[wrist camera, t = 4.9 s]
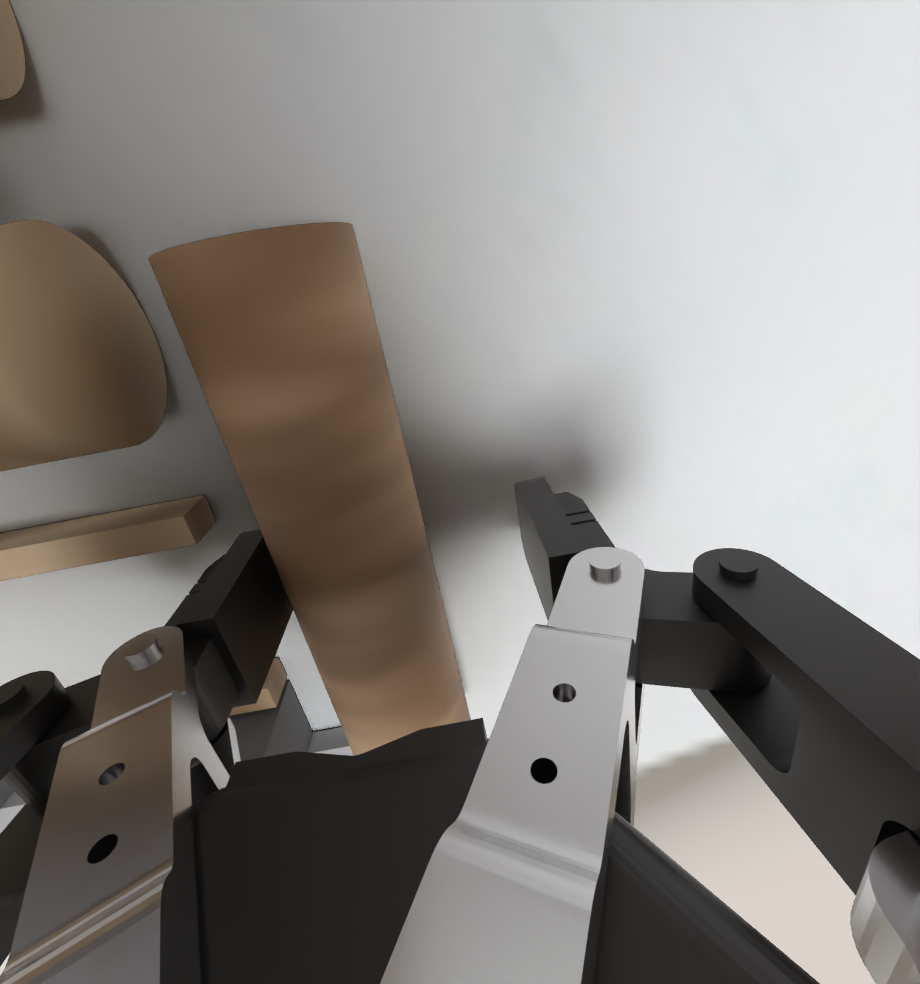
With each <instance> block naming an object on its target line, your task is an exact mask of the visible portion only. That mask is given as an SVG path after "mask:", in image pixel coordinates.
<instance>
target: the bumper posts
mask: <svg viewBox="0 0 920 984" xmlns="http://www.w3.org/2000/svg"><path fill="white" fill-rule="evenodd" d="M229 717H230V719H231V721H232V723H233V725H234V727H235V731H236V736H237V742H238V748H239V754H240V760H241V761H245V760H250V759H256V758H261V757H267V756H273V755H278V754H284V753H289V752H295V751H298V752H311V753H324V754H336V755H349V756H354V755H353V752H352V750H351V748H350V745H349V743H348V740H347V738H346V736H345V733H344V731H343V728H342V727H339V728H334V729H328V730H323V731H317V732H312V730H311V727H310V725H309V723H308V721H307V719H306V716H305V714H304V712H303V710H302V708H301V705H300V703H299V701H298V699H297V697H296V694H295V692H294V690H293V688H292V686H291V683H290V681H285V684H284V687H283V690H282V693H281V696H280V698H279V701H278V704H277V707H275V708H270V709H264V710H259V711H253V712H248V713H242V714H237V715H231V716H229ZM25 804H26V803H25V802H24V801H23V800H22V799H21V797H20V796H19V795H18V794H17V793H16V792H15V791H14V790H13V789H12V788H11V787H10V786H9V785H8V783H7V782H6V781H5V780H4V779H2V780H1V781H0V834H1V832H2V831H3V830H4V829H5V828H6V826H7V825H8V824H9V823H10V822H11V821H12V819H13V818H14V817H15V816H16V815H17V813H18V812H19V811H20V810H21V809H22V808H23V806H24V805H25Z"/></svg>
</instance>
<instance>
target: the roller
mask: <svg viewBox="0 0 920 984" xmlns="http://www.w3.org/2000/svg"><path fill="white" fill-rule="evenodd" d="M148 259H149V262H150V264H151V266H152V269H153V271H154V274H155V276H156V279H157V281H158V283H159V286H160V288H161V291H162V293H163V295H164V298H165V300H166V303H167V305H168V308H169V310H170V312H171V315H172V317H173V320H174V322H175V324H176V327H177V329H178V332H179V334H180V337H181V339H182V341H183V344H184V346H185V349H186V351H187V354H188V356H189V358H190V361H191V363H192V366H193V368H194V370H195V373H196V375H197V378H198V380H199V383H200V385H201V387H202V390H203V392H204V395H205V397H206V399H207V402H208V404H209V407H210V409H211V412H212V414H213V416H214V419H215V421H216V424H217V426H218V428H219V431H220V433H221V436H222V438H223V441H224V443H225V445H226V448H227V450H228V453H229V455H230V457H231V460H232V462H233V465H234V467H235V470H236V472H237V474H238V477H239V479H240V482H241V484H242V486H243V489H244V491H245V494H246V496H247V499H248V501H249V503H250V506H251V508H252V511H253V513H254V516H255V518H256V520H257V523H258V525H259V528H260V530H261V532H262V535H263V537H264V540H265V542H266V545H267V547H268V549H269V552H270V554H271V557H272V559H273V561H274V564H275V566H276V569H277V571H278V574H279V576H280V578H281V581H282V583H283V586H284V588H285V590H286V593H287V595H288V598H289V600H290V603H291V605H292V607H293V610H294V612H295V615H296V617H297V619H298V622H299V624H300V627H301V629H302V632H303V634H304V636H305V639H306V641H307V644H308V646H309V648H310V651H311V653H312V656H313V658H314V661H315V663H316V665H317V668H318V670H319V673H320V675H321V678H322V680H323V682H324V685H325V687H326V690H327V692H328V694H329V697H330V699H331V702H332V704H333V707H334V709H335V711H336V714H337V716H338V719H339V721H340V723H341V726H342V728H343V731H344V733H345V736H346V738H347V740H348V743H349V745H350V748H351V750H352V752H353V755H359V754H362V753H365V752H367V751H370V750H372V749H375V748H377V747H379V746H382V745H384V744H387V743H389V742H391V741H394V740H396V739H399V738H401V737H403V736H406V735H408V734H411V733H413V732H415V731H418V730H420V729H424V728H429V727H435V726H441V725H446V724H452V723H457V722H463V721H469V720H471V719H470V715H469V711H468V706H467V702H466V698H465V694H464V690H463V685H462V681H461V677H460V673H459V669H458V664H457V660H456V656H455V652H454V648H453V643H452V639H451V635H450V631H449V627H448V623H447V618H446V614H445V610H444V606H443V602H442V597H441V593H440V589H439V585H438V581H437V576H436V572H435V568H434V564H433V560H432V555H431V551H430V547H429V543H428V539H427V535H426V530H425V526H424V522H423V518H422V514H421V509H420V505H419V501H418V497H417V493H416V488H415V484H414V480H413V476H412V472H411V467H410V463H409V459H408V455H407V451H406V447H405V442H404V438H403V434H402V430H401V426H400V421H399V417H398V413H397V409H396V405H395V400H394V396H393V392H392V388H391V384H390V380H389V375H388V371H387V367H386V363H385V359H384V354H383V350H382V346H381V342H380V338H379V333H378V329H377V325H376V321H375V317H374V312H373V308H372V304H371V300H370V296H369V292H368V287H367V283H366V279H365V275H364V271H363V266H362V262H361V258H360V254H359V250H358V245H357V241H356V237H355V233H354V229H353V225H352V224H349V223H341V222H327V223H311V224H299V225H290V226H282V227H274V228H267V229H260V230H253V231H247V232H241V233H235V234H229V235H224V236H219V237H214V238H209V239H204V240H200V241H195V242H191V243H187V244H183V245H179V246H175V247H172V248H169V249H165V250H162V251H160V252H157V253H155V254H153V255H151V256H150V257H149V258H148Z"/></svg>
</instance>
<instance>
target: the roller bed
mask: <svg viewBox="0 0 920 984" xmlns="http://www.w3.org/2000/svg"><path fill="white" fill-rule="evenodd" d="M25 70H26V68H25V54H24V49H23V43H22V39H21V35H20V32H19V28H18V25H17V22H16V19H15V16H14V13H13V10H12V7H11V5H10V2H9V0H0V100H3V99H8V98H11V97H12V96H14V95H16V94H17V93H18V92H19V90H20V89H21V88H22V85H23V82H24V79H25ZM166 402H167V381H166V373H165V368H164V363H163V359H162V355H161V351H160V348H159V345H158V342H157V340H156V337H155V335H154V332H153V330H152V328H151V325H150V323H149V321H148V319H147V317H146V315H145V313H144V312H143V310H142V308H141V306H140V304H139V303H138V301H137V300H136V298H135V296H134V295H133V293H132V292H131V290H130V289H129V288H128V286H127V285H126V283H125V282H124V281H123V279H122V278H121V277H120V276H119V275H118V273H117V272H116V271H115V270H114V269H113V268H112V266H111V265H110V264H109V263H108V262H107V261H106V260H105V259H104V258H103V257H102V256H101V255H100V254H99V253H98V252H97V251H95V250H94V249H93V248H92V247H91V246H89V245H88V244H87V243H86V242H84V241H83V240H81V239H80V238H78V237H77V236H75V235H74V234H73V233H71V232H69V231H67V230H65V229H63V228H61V227H59V226H56V225H54V224H51V223H48V222H44V221H39V220H21V221H16V222H11V223H6V224H0V471H5V470H10V469H16V468H21V467H26V466H31V465H37V464H42V463H47V462H52V461H58V460H63V459H68V458H73V457H79V456H84V455H89V454H94V453H100V452H105V451H110V450H115V449H121V448H126V447H131V446H135V445H139V444H141V443H143V442H145V441H147V440H148V439H149V438H150V437H152V436H153V434H154V433H155V432H156V431H157V430H158V428H159V426H160V424H161V422H162V420H163V417H164V413H165V409H166ZM215 522H216V519H215V517H214V515H213V513H212V510H211V508H210V506H209V504H208V502H207V499H206V497H205V495H201V496H195V497H190V498H185V499H179V500H174V501H169V502H164V503H158V504H153V505H148V506H142V507H137V508H132V509H126V510H121V511H116V512H110V513H105V514H100V515H95V516H89V517H84V518H79V519H73V520H68V521H63V522H57V523H52V524H47V525H41V526H36V527H31V528H26V529H20V530H15V531H10V532H4V533H0V581H4V580H9V579H14V578H20V577H25V576H30V575H36V574H41V573H46V572H52V571H57V570H62V569H68V568H73V567H78V566H84V565H89V564H94V563H100V562H105V561H111V560H116V559H121V558H127V557H132V556H137V555H143V554H148V553H153V552H159V551H164V550H169V549H175V548H180V547H185V546H191V545H196V544H198V542H199V541H200V540H201V539H202V538H203V536H204V535H205V534H206V533H207V532H208V530H209V529H210V528H211V527H212V526H213V524H214V523H215ZM286 678H287V675H286V673H285V670H284V668H283V666H282V664H281V662H280V659H279V658H275V659H274V660H273V662H272V665H271V667H270V670H269V672H268V675H267V677H266V680H265V683H264V685H263V688H262V690H261V693H260V695H259V698H258V700H257V703H256V704H250V705H245V706H239V707H233V708H232V710H231V713H230V715H229V716H231V715H237V714H242V713H248V712H253V711H259V710H264V709H270V708H275V707H277V704H278V701H279V698H280V696H281V693H282V690H283V687H284V684H285V681H286Z"/></svg>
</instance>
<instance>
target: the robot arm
mask: <svg viewBox="0 0 920 984" xmlns="http://www.w3.org/2000/svg"><path fill="white" fill-rule="evenodd" d="M515 493H516V501H517V508H518V516H519V523H520V530H521V538H522V543H523V548H524V552H525V556H526V560H527V563H528V565H529V568H530V571H531V574H532V577H533V580H534V582H535V585H536V588H537V591H538V594H539V597H540V599H541V602H542V605H543V608H544V611H545V614H546V616H547V619H548V623H547V626H546V625H540V624H536V625H534V627H533V628H532V630H531V632H530V634H529V637H528V639H527V642H526V644H525V647H524V650H523V652H522V655H521V657H520V660H519V663H518V665H517V668H516V671H515V673H514V676H513V678H512V681H511V684H510V686H509V689H508V691H507V694H506V697H505V699H504V702H503V704H502V707H501V710H500V712H499V715H498V717H497V720H496V723H495V725H494V728H493V730H492V733H491V736H490V738H487V736H486V731H485V726H484V722H483V718H480V719H474V720H469V721H463V722H457V723H452V724H446V725H441V726H435V727H429V728H424V729H420V730H418V731H415V732H413V733H411V734H408V735H406V736H403V737H401V738H399V739H396V740H394V741H391V742H389V743H387V744H384V745H382V746H379V747H377V748H375V749H372V750H370V751H367V752H365V753H362V754H359V755H354V756H349V755H336V754H324V753H311V752H298V751H295V752H289V753H284V754H278V755H273V756H267V757H261V758H256V759H250V760H245V761H241V760H240V754H239V748H238V742H237V736H236V731H235V727H234V725H233V723H232V721H231V719H230V717H229V715H230V713H231V710H232V708H233V707H239V706H245V705H250V704H256V703H257V700H258V698H259V695H260V693H261V690H262V688H263V685H264V683H265V680H266V677H267V675H268V672H269V670H270V667H271V665H272V662H273V660H274V657H275V654H276V652H277V649H278V647H279V644H280V642H281V639H282V637H283V634H284V631H285V629H286V626H287V624H288V621H289V619H290V616H291V614H292V611H293V607H292V605H291V603H290V600H289V598H288V595H287V593H286V590H285V588H284V586H283V583H282V581H281V578H280V576H279V574H278V571H277V569H276V566H275V564H274V561H273V559H272V557H271V554H270V552H269V549H268V547H267V545H266V542H265V540H264V537H263V535H262V532H261V530H260V529H259V530H253V531H248V532H243V533H241V534H240V535H239V536H238V538H237V539H236V541H235V542H234V543H233V545H232V546H231V548H230V549H229V551H228V552H227V553H226V554H225V555H223V556H222V557H220V558H219V559H218V560H217V561H215V562H214V563H213V564H212V565H210V566H209V567H208V568H207V569H206V570H205V572H204V573H203V574H202V576H201V577H200V579H199V580H198V581H197V582H198V584H195V585H194V587H193V588H192V589H191V591H190V592H189V595H187V596H186V598H185V599H184V600H183V602H182V603H181V604H180V606H179V607H178V608H177V610H176V611H175V613H174V614H173V615H172V617H171V618H170V619H169V621H168V622H167V623H166V625H165V626H163V627H159V628H155V629H152V630H149V631H146V632H144V633H142V634H140V635H138V636H136V637H134V638H132V639H130V640H129V641H127V642H126V643H124V644H123V645H122V646H120V647H119V648H118V649H117V650H115V651H114V652H113V653H112V654H111V655H110V656H109V657H108V659H107V660H106V661H105V663H104V665H103V667H102V671H101V675H98V676H95V677H93V678H90V679H88V680H85V681H82V682H80V683H77V684H74V685H72V686H69V687H67V688H64V687H63V685H62V684H61V683H60V681H59V680H58V679H57V677H56V676H55V675H54V673H52V672H50V671H38V672H33V673H29V674H26V675H23V676H21V677H18V678H16V679H14V680H12V681H10V682H8V683H6V684H4V685H2V686H0V781H1V780H2V779H4V780H5V781H6V782H7V783H8V785H9V786H10V787H11V788H12V789H13V790H14V791H15V792H16V793H17V794H18V795H19V796H20V797H21V799H22V800H23V801H24V802H25V803H26V804H25V805H24V806H23V808H22V809H21V810H20V811H19V812H18V813H17V815H16V816H15V817H14V818H13V819H12V821H11V822H10V823H9V824H8V825H7V826H6V828H5V829H4V830H3V831H2V832H1V834H0V966H1V965H2V963H3V962H4V960H5V959H6V957H7V956H8V955H9V953H10V955H9V959H8V962H7V964H6V967H5V969H4V970H3V972H2V974H1V976H0V984H820V983H818V982H817V981H816V980H815V979H814V978H813V977H811V976H810V975H809V974H808V973H807V972H805V971H804V970H803V969H802V968H801V967H800V966H798V965H797V964H796V963H795V962H793V961H792V960H791V959H790V958H789V957H788V956H786V955H785V954H784V953H783V952H782V951H781V950H779V949H778V948H777V947H776V946H775V945H773V944H772V943H771V942H770V941H769V940H767V939H766V938H765V937H764V936H763V935H762V934H760V933H759V932H758V931H757V930H756V929H754V928H753V927H752V926H751V925H750V924H748V923H747V922H746V921H745V920H744V919H743V918H741V917H740V916H739V915H738V914H736V913H735V912H734V911H733V910H732V909H731V908H730V907H728V906H727V905H726V904H725V903H724V902H722V901H721V900H720V899H719V898H718V897H716V896H715V895H714V894H713V893H712V892H710V891H709V890H708V889H707V888H706V887H704V886H703V885H702V884H701V883H700V882H699V881H697V880H696V879H695V878H694V877H693V876H692V875H690V874H689V873H688V872H687V871H685V870H684V869H683V868H682V867H681V866H680V865H678V864H677V863H676V862H675V861H674V860H672V859H671V858H670V857H669V856H668V855H667V854H665V853H664V852H663V851H662V850H661V849H659V848H658V847H657V846H656V845H655V844H653V843H652V842H651V841H650V840H649V839H648V838H646V837H645V836H644V835H643V834H642V833H640V832H639V831H638V830H637V829H636V828H634V815H635V800H636V776H637V759H638V748H639V737H640V727H641V716H642V705H643V695H644V684H651V685H661V686H671V687H682V688H690V689H691V690H692V692H693V693H694V695H695V696H696V697H697V698H698V700H699V701H700V702H701V703H702V705H703V706H704V707H705V708H706V710H707V711H708V712H709V713H710V715H711V716H712V717H713V718H714V720H715V721H716V722H717V723H718V725H719V726H720V727H721V728H722V730H723V731H724V732H725V733H726V735H727V736H728V737H729V738H730V740H731V741H732V742H733V743H734V745H735V746H736V747H737V748H738V749H739V751H740V752H741V753H742V754H743V756H744V757H745V758H746V759H747V761H748V762H749V763H750V764H751V766H752V767H753V768H754V769H755V771H756V772H757V773H758V774H759V776H760V777H761V778H762V779H763V780H764V782H765V783H766V784H767V786H768V787H769V788H770V789H771V791H772V792H773V793H774V794H775V796H776V797H777V798H778V799H779V800H780V802H781V803H782V804H783V805H784V807H785V808H786V809H787V810H788V812H789V813H790V814H791V815H792V817H793V818H794V819H795V820H796V822H797V823H798V824H799V825H800V827H801V828H802V829H803V830H804V832H805V833H806V834H807V835H808V836H809V838H810V839H811V840H812V841H813V843H814V844H815V845H816V847H817V848H818V849H819V850H820V851H821V853H822V854H823V855H824V856H825V858H826V859H827V860H828V861H829V862H830V864H831V865H832V866H833V868H834V869H835V870H836V871H837V873H838V874H839V875H840V876H841V878H842V879H843V880H844V881H845V883H846V884H847V885H848V886H849V888H850V889H851V890H852V891H853V892H854V894H855V895H856V897H855V900H854V902H853V906H852V910H851V921H850V922H851V923H850V924H851V930H852V936H853V939H854V942H855V945H856V948H857V950H858V952H859V955H860V957H861V959H862V961H863V963H864V965H865V966H866V968H867V970H868V971H869V973H870V975H871V976H872V978H873V980H874V981H875V983H876V984H920V659H918V658H917V657H915V656H914V655H912V654H911V653H909V652H908V651H906V650H905V649H903V648H902V647H900V646H899V645H897V644H896V643H894V642H893V641H892V640H890V639H889V638H887V637H886V636H884V635H883V634H881V633H880V632H878V631H877V630H875V629H874V628H872V627H871V626H869V625H868V624H866V623H865V622H863V621H862V620H861V619H859V618H858V617H856V616H855V615H853V614H852V613H850V612H849V611H847V610H846V609H844V608H843V607H841V606H840V605H838V604H837V603H835V602H834V601H832V600H831V599H829V598H828V597H827V596H825V595H824V594H822V593H821V592H819V591H818V590H816V589H815V588H813V587H812V586H810V585H809V584H807V583H806V582H804V581H803V580H801V579H800V578H798V577H797V576H795V575H794V574H793V573H791V572H790V571H788V570H787V569H785V568H784V567H782V566H781V565H779V564H778V563H776V562H775V561H773V560H772V559H770V558H768V557H766V556H764V555H762V554H759V553H756V552H752V551H748V550H743V549H734V548H723V549H715V550H711V551H708V552H705V553H703V554H701V555H700V556H699V557H697V559H696V560H695V561H694V564H693V573H684V572H659V571H652V570H648V569H644V565H643V563H642V561H641V560H640V559H639V558H638V557H637V556H636V555H634V554H633V553H630V552H628V551H626V550H623V549H619V548H615V546H614V545H613V543H612V542H611V540H610V539H609V538H608V536H607V535H606V533H605V532H604V530H603V529H602V527H601V526H600V525H599V523H598V522H597V521H596V519H595V517H594V516H593V514H592V513H591V512H590V510H589V509H588V507H587V506H586V504H585V503H584V501H583V500H582V499H580V498H578V497H576V496H575V495H573V494H571V493H569V492H565V493H560V494H553V493H552V491H551V489H550V487H549V486H548V484H547V482H546V480H545V479H544V478H538V479H532V480H527V481H521V482H516V483H515Z"/></svg>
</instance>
